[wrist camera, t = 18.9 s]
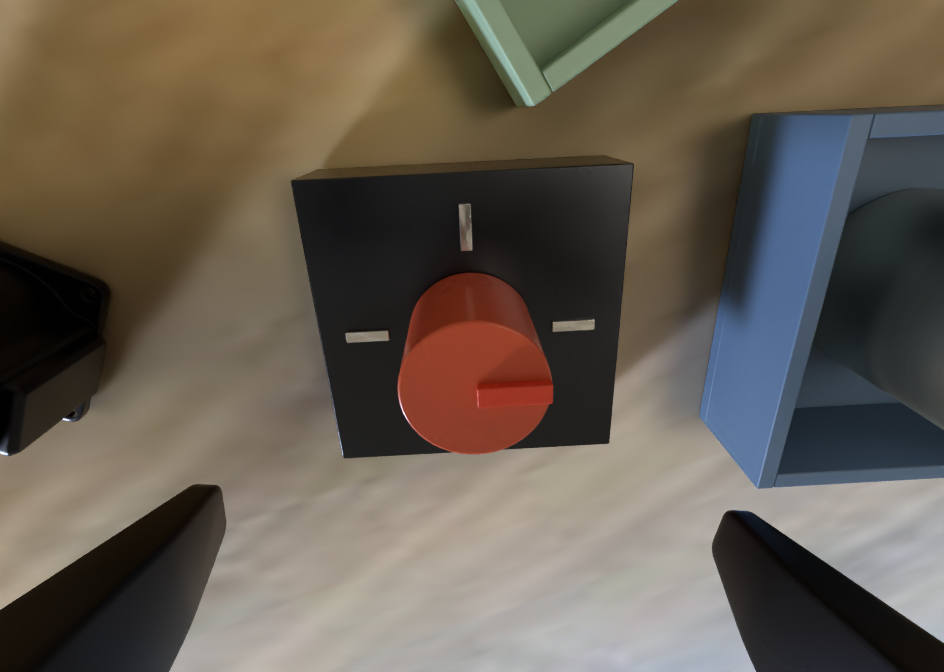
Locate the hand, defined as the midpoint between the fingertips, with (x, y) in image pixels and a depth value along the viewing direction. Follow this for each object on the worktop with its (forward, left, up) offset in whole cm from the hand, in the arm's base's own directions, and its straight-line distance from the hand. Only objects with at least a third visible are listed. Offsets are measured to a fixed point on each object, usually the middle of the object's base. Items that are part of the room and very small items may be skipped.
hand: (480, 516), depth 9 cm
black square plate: (0, 0, -11) cm, 11 cm away
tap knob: (0, 0, -8) cm, 8 cm away
